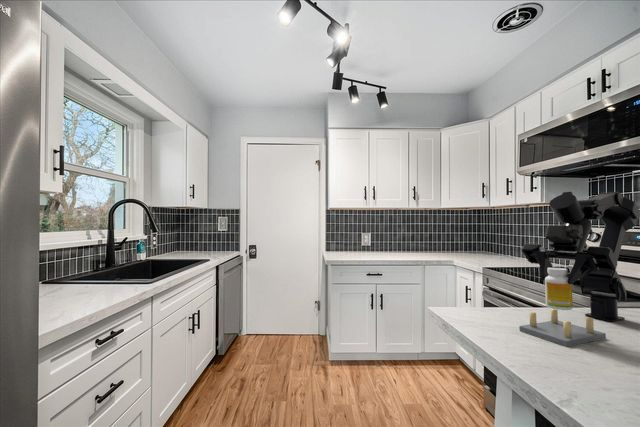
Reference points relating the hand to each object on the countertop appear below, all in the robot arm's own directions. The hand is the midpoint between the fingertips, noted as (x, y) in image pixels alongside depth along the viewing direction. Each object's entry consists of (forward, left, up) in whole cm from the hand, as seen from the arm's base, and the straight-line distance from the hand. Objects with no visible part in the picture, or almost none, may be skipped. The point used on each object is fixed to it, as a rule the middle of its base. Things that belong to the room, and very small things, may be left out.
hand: (555, 281), depth 75 cm
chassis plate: (-1, 0, -13) cm, 13 cm away
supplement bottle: (-1, 0, -7) cm, 7 cm away
